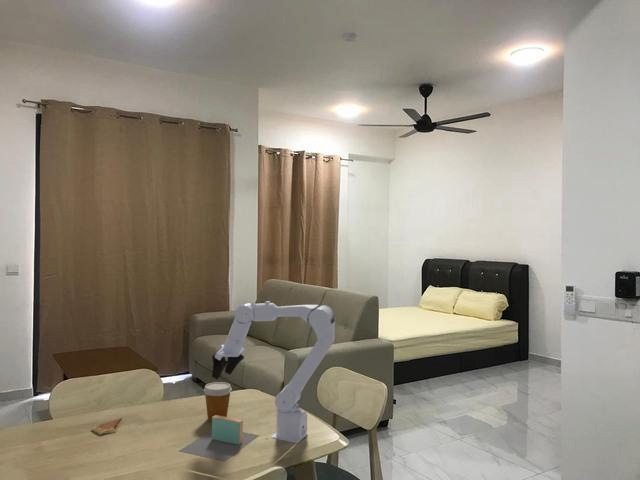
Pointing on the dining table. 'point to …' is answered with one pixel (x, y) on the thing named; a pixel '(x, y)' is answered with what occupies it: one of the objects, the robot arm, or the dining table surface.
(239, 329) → the robot arm
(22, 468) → the dining table surface
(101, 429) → the pizza slice
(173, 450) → the dining table surface
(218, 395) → the disposable coffee cup
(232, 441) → the terracotta tile
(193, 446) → the rubber mat
